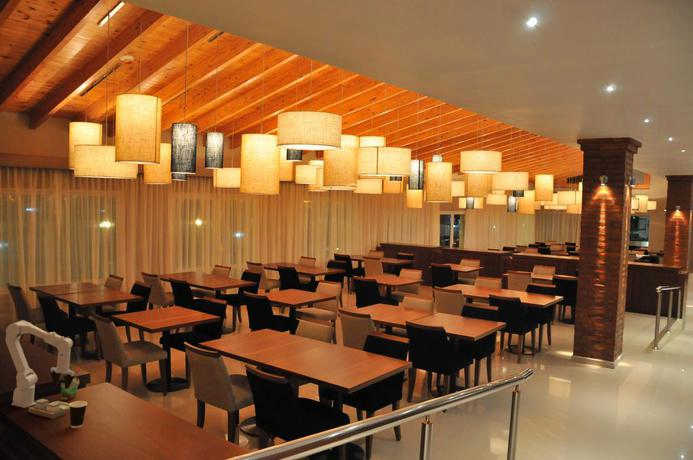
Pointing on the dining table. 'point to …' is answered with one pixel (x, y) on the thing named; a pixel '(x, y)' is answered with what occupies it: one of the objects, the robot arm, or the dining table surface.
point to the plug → (53, 407)
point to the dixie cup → (77, 413)
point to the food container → (69, 390)
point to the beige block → (41, 404)
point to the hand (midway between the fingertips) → (61, 387)
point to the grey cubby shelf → (45, 413)
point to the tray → (63, 405)
